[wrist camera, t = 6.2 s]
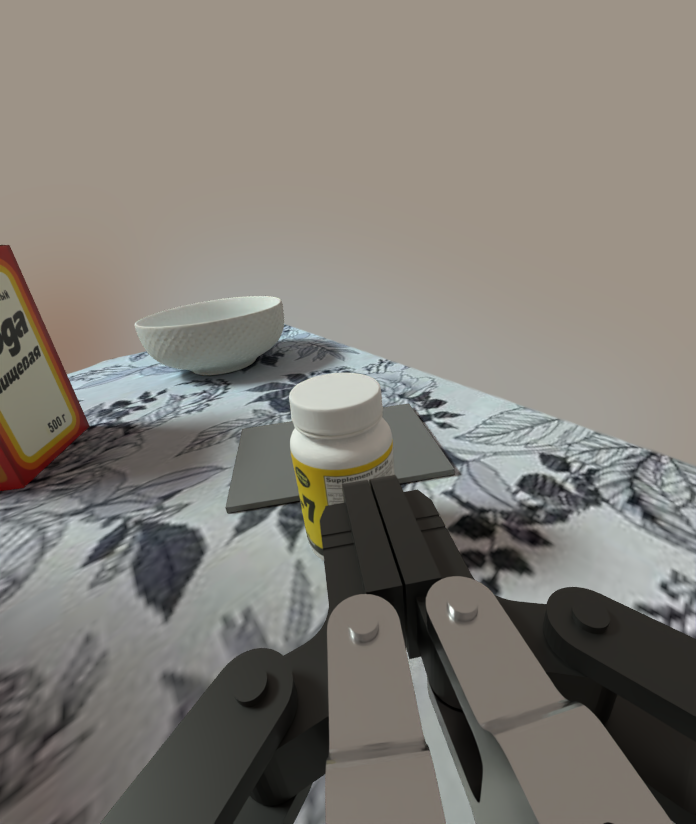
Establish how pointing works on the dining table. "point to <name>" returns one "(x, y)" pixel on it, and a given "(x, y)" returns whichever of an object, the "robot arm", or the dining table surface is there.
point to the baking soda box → (30, 385)
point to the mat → (274, 472)
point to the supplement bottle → (336, 441)
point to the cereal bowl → (213, 333)
